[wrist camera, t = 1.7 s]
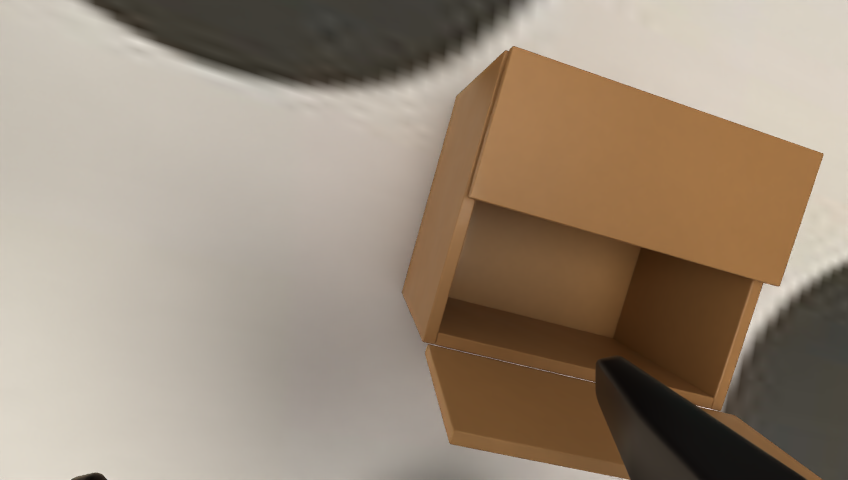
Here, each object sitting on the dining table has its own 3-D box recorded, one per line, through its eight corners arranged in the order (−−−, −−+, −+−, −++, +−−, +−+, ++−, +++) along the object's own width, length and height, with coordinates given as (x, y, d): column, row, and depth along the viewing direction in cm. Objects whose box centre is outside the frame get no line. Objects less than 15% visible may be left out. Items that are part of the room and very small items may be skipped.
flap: (735, 414, 19) (731, 424, 19) (427, 343, 17) (424, 353, 17) (872, 515, 14) (867, 527, 14) (453, 430, 12) (448, 444, 12)
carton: (613, 345, 28) (736, 420, 19) (401, 292, 26) (425, 349, 17) (669, 164, 27) (826, 152, 18) (456, 95, 25) (512, 42, 16)
